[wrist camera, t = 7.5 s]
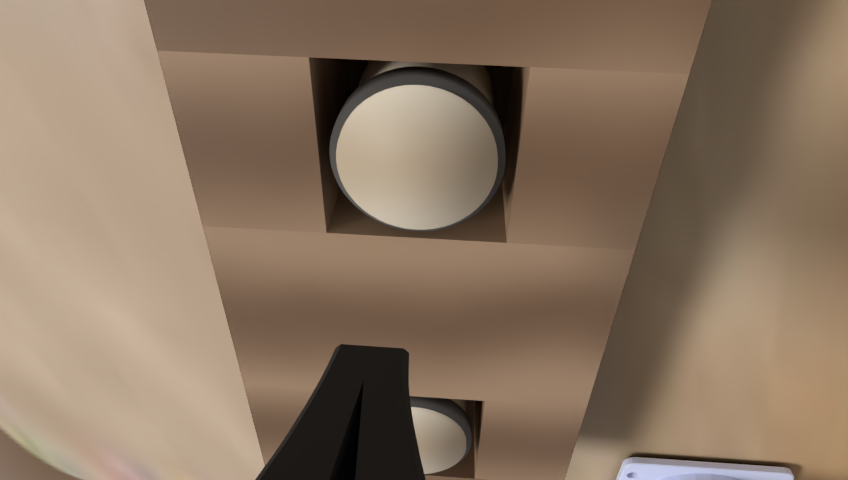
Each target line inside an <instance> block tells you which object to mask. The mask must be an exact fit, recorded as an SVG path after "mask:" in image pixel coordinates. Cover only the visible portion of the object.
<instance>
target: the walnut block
mask: <svg viewBox="0 0 848 480" xmlns="http://www.w3.org/2000/svg"><path fill="white" fill-rule="evenodd" d="M144 2H145V6H146V10H147V14H148V18H149V21H150V25H151V29H152V33H153V37H154V41H155V44H156V48H157V52H158V56H159V60H160V64H161V68H162V71H163V75H164V79H165V83H166V87H167V91H168V94H169V98H170V102H171V106H172V110H173V114H174V118H175V121H176V125H177V129H178V133H179V137H180V141H181V144H182V148H183V152H184V156H185V160H186V164H187V168H188V171H189V175H190V179H191V183H192V187H193V191H194V195H195V198H196V202H197V206H198V210H199V214H200V218H201V221H202V225H203V229H204V233H205V237H206V241H207V245H208V248H209V252H210V256H211V260H212V264H213V268H214V271H215V275H216V279H217V283H218V287H219V291H220V295H221V298H222V302H223V306H224V310H225V314H226V318H227V322H228V325H229V329H230V333H231V337H232V341H233V345H234V348H235V352H236V356H237V360H238V364H239V368H240V372H241V375H242V379H243V383H244V387H245V391H246V395H247V398H248V402H249V406H250V410H251V414H252V418H253V422H254V425H255V429H256V433H257V437H258V441H259V445H260V448H261V452H262V456H263V460H264V464H265V466H266V464H267V463H268V461H269V460H270V459H271V457H272V456H273V454H274V453H275V451H276V450H277V449H278V447H279V446H280V444H281V443H282V441H283V440H284V438H285V437H286V435H287V434H288V432H289V430H290V429H291V427H292V426H293V424H294V423H295V421H296V419H297V418H298V416H299V415H300V413H301V411H302V410H303V408H304V407H305V405H306V403H307V402H308V400H309V398H310V396H311V395H312V393H313V391H314V389H315V388H316V386H317V384H318V382H319V381H320V379H321V377H322V375H323V373H324V371H325V369H326V367H327V365H328V363H329V361H330V359H331V357H332V355H333V352H334V350H335V348H336V347H337V346H339V345H340V344H348V345H362V346H377V347H391V348H404V349H405V350H406V351H407V352H409V395H410V396H416V397H432V398H447V399H462V400H467V406H466V413H467V415H468V416H469V418H470V421H471V425H472V444H471V448H470V450H469V453H468V454H467V455H466V456H465V457H464V458H463V459H462V460H461V461H460V462H458V463H457V464H455V465H454V466H452V467H450V468H448V469H446V470H443V471H440V472H435V473H430V474H424V475H425V479H426V480H565V476H566V473H567V470H568V467H569V463H570V460H571V457H572V454H573V450H574V447H575V444H576V441H577V437H578V434H579V431H580V428H581V424H582V421H583V418H584V415H585V411H586V408H587V405H588V402H589V398H590V395H591V392H592V389H593V385H594V382H595V379H596V376H597V372H598V369H599V366H600V363H601V359H602V356H603V353H604V350H605V347H606V343H607V340H608V337H609V334H610V330H611V327H612V324H613V321H614V317H615V314H616V311H617V308H618V304H619V301H620V298H621V295H622V291H623V288H624V285H625V282H626V278H627V275H628V272H629V269H630V265H631V262H632V259H633V256H634V252H635V249H636V246H637V243H638V239H639V236H640V233H641V230H642V226H643V223H644V220H645V217H646V213H647V210H648V207H649V204H650V200H651V197H652V194H653V191H654V187H655V184H656V181H657V178H658V174H659V171H660V168H661V165H662V161H663V158H664V155H665V152H666V148H667V145H668V142H669V139H670V135H671V132H672V129H673V126H674V122H675V119H676V116H677V113H678V109H679V106H680V103H681V100H682V96H683V93H684V90H685V87H686V83H687V80H688V77H689V74H690V70H691V67H692V64H693V61H694V58H695V54H696V51H697V48H698V45H699V41H700V38H701V35H702V32H703V28H704V25H705V22H706V19H707V15H708V12H709V9H710V6H711V2H712V0H144ZM343 59H357V60H380V61H402V62H425V63H447V64H470V65H493V66H513V69H512V77H511V86H510V95H509V103H508V112H507V120H506V129H505V137H504V141H505V151H506V162H505V170H504V175H503V178H502V181H501V183H500V186H499V187H498V189H497V191H496V193H495V195H494V196H493V197H492V199H491V200H490V201H489V202H488V203H487V205H486V206H485V207H484V208H483V209H481V210H480V211H479V212H478V213H477V214H475V215H474V216H472V217H471V218H469V219H467V220H466V221H463V222H461V223H459V224H457V225H454V226H451V227H448V228H444V229H439V230H432V231H411V230H403V229H399V228H394V227H391V226H388V225H385V224H383V223H381V222H378V221H376V220H374V219H373V218H371V217H369V216H368V215H366V214H365V213H363V212H362V211H361V210H359V209H358V208H357V207H356V206H355V205H354V204H353V203H352V202H351V201H350V200H349V199H348V198H347V197H346V195H345V194H344V193H343V191H342V190H341V188H340V187H339V185H338V183H337V181H336V179H335V176H334V174H333V170H332V167H331V162H330V139H331V134H332V131H333V128H334V125H335V122H336V120H337V117H338V115H339V113H340V110H341V108H342V106H343V105H344V103H345V102H346V95H345V80H344V64H343Z"/></svg>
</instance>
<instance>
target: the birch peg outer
mask: <svg viewBox="0 0 848 480" xmlns="http://www.w3.org/2000/svg"><path fill="white" fill-rule="evenodd" d="M330 162H331V167H332V170H333V174H334V176H335V179H336V181H337V183H338V185H339V187H340V188H341V190H342V191H343V193H344V194H345V195H346V197H347V198H348V199H349V200H350V201H351V202H352V203H353V204H354V205H355V206H356V207H357V208H358V209H359V210H361V211H362V212H363V213H365V214H366V215H368V216H369V217H371V218H373V219H374V220H376V221H378V222H381V223H383V224H385V225H388V226H391V227H394V228H399V229H403V230H411V231H432V230H439V229H444V228H448V227H451V226H454V225H457V224H459V223H461V222H463V221H466V220H467V219H469V218H471V217H472V216H474V215H475V214H477V213H478V212H479V211H480V210H481V209H483V208H484V207H485V206H486V205H487V203H488V202H489V201H490V200H491V199H492V197H493V196H494V195H495V193H496V191H497V189H498V187H499V186H500V183H501V181H502V178H503V175H504V170H505V162H506V151H505V141H504V132H503V129H502V125H501V122H500V119H499V117H498V115H497V113H496V111H495V109H494V96H493V86H492V82H491V78H490V76H489V73H488V71H487V69H486V67H485V65H470V64H447V63H425V62H402V61H380V60H369V61H368V63H367V64H366V67H365V69H364V71H363V73H362V76H361V79H360V81H359V84H358V87H357V89H355V91H354V92H353V93H352V94H351V95H350V96H349V97H348V99H347V100H346V102H345V103H344V105H343V106H342V108H341V110H340V113H339V115H338V117H337V120H336V122H335V125H334V128H333V131H332V134H331V139H330Z"/></svg>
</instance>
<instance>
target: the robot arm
mask: <svg viewBox="0 0 848 480" xmlns="http://www.w3.org/2000/svg"><path fill="white" fill-rule="evenodd" d="M256 480H426V479H425V475H424V471H423V466H422V462H421V458H420V453H419V448H418V443H417V439H416V434H415V429H414V423H413V417H412V411H411V403H410V395H409V352H407V351H406V350H405V349H404V348H391V347H377V346H362V345H348V344H340V345H339V346H337V347H336V348H335V350H334V352H333V355H332V357H331V359H330V361H329V363H328V365H327V367H326V369H325V371H324V373H323V375H322V377H321V379H320V381H319V382H318V384H317V386H316V388H315V389H314V391H313V393H312V395H311V396H310V398H309V400H308V402H307V403H306V405H305V407H304V408H303V410H302V411H301V413H300V415H299V416H298V418H297V419H296V421H295V423H294V424H293V426H292V427H291V429H290V430H289V432H288V434H287V435H286V437H285V438H284V440H283V441H282V443H281V444H280V446H279V447H278V449H277V450H276V451H275V453H274V454H273V456H272V457H271V459H270V460H269V461H268V463H267V464H266V466H265V467H264V468H263V470H262V471H261V473H260V474H259V475H258V477H257V478H256ZM616 480H794V476H793V474H792V471H791V470H790V469H789V468H786V467H776V466H761V465H746V464H732V463H717V462H702V461H688V460H673V459H658V458H644V457H630V458H627V459H625V460H624V461H623V463H622V466H621V468H620V471H619V473H618V475H617V478H616Z"/></svg>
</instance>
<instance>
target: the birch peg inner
mask: <svg viewBox="0 0 848 480" xmlns="http://www.w3.org/2000/svg"><path fill="white" fill-rule="evenodd" d="M410 403H411V411H412V417H413V423H414V429H415V434H416V439H417V443H418V448H419V453H420V458H421V462H422V466H423V471H424V474H430V473H435V472H440V471H443V470H446V469H448V468H450V467H452V466H454V465H455V464H457V463H458V462H460V461H461V460H462V459H463V458H464V457H465V456H466V455H467V454H468V453H469V450H470V448H471V444H472V425H471V421H470V418H469V416H468V415H467V413H466V406H467V400H462V399H447V398H432V397H416V396H410Z"/></svg>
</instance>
